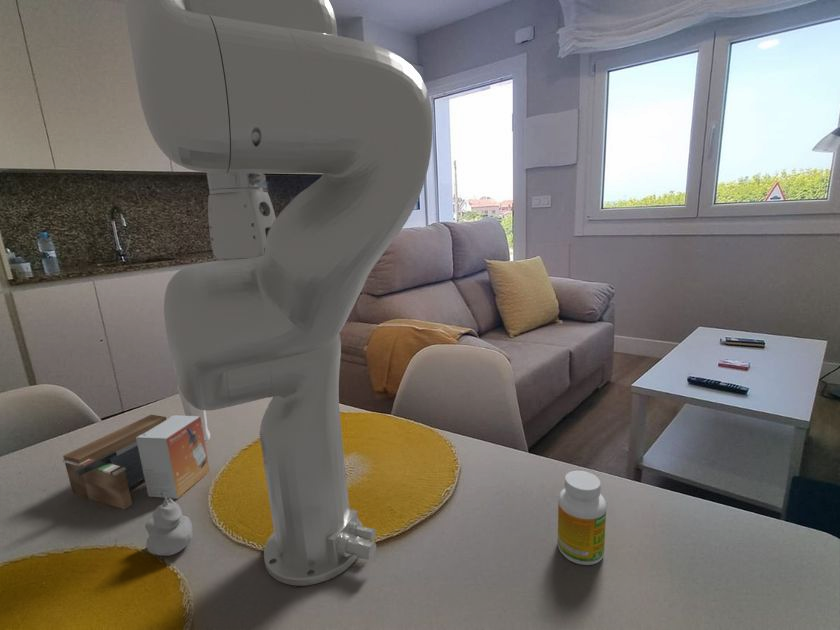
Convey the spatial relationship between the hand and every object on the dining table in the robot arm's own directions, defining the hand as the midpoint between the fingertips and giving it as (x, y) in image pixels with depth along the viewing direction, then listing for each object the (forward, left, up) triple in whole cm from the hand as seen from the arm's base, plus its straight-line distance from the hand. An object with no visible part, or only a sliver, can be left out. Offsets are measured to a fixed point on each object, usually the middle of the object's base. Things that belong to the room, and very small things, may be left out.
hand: (252, 303), depth 69 cm
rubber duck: (+1, +20, -29) cm, 36 cm away
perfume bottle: (+22, -4, -29) cm, 37 cm away
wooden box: (+21, +9, -29) cm, 37 cm away
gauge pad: (+20, +11, -28) cm, 36 cm away
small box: (+12, +9, -29) cm, 33 cm away
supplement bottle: (-50, +4, -29) cm, 58 cm away
